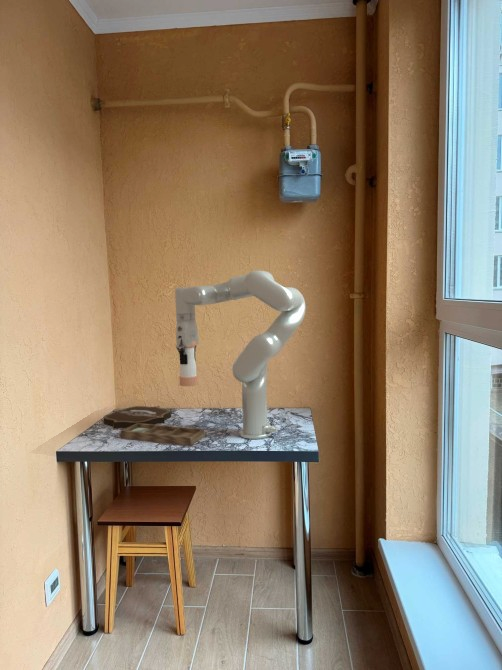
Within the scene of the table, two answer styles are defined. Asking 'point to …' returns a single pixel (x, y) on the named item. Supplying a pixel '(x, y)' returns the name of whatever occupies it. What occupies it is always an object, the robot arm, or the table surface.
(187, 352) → the pepper shaker
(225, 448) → the table surface
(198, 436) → the notch ledge
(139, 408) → the decorative plaque
